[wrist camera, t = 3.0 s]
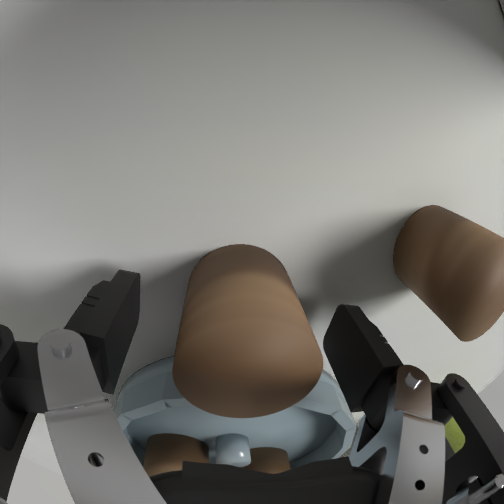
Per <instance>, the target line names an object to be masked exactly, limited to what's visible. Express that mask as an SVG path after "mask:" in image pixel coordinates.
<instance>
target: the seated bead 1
mask: <svg viewBox="0 0 504 504" xmlns="http://www.w3.org/2000/svg"><path fill="white" fill-rule="evenodd" d="M183 461H190V462H199V463H209V448H208V446H207V445H206V444H205V443H204V442H202V441H200V440H198V439H196V438H193V437H190V436H186V435H181V434H173V433H161V434H155V435H152V436H150V437H149V438H148V439H147V444H146V451H145V458H144V465H143V468H144V470H145V472H146V473H147V475H148V476H149V477H150V476H153V475H157V474H160V473H165V472H170V471H179V470H182V463H183Z"/></svg>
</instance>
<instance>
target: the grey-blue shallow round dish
mask: <svg viewBox="0 0 504 504" xmlns="http://www.w3.org/2000/svg"><path fill="white" fill-rule="evenodd" d="M173 362H174V356H173V357H170V358H166V359H162V360H160V361H157V362H155V363H152V364H150V365H148V366H146V367H144V368H142V369H141V370H139V371H137V372H136V373H135V374H133V375H132V376H131V377H130V378H129V379H128V380H127V381H126V382H125V384H124V385H123V386H122V388H121V390H120V393H119V395H118V399H117V402H116V406H115V409H114V413H115V415H116V417H117V420H118V422H119V424H120V426H121V428H122V430H123V432H124V434H125V436H126V438H127V440H128V442H129V444H130V445H131V447H132V449H133V451H134V453H135V455H136V456H137V458H138V460H139V462H140V463H141V465H142V467H143V465H144V458H145V451H146V444H147V439H148V438H149V437H150V436H152V435H155V434H161V433H173V434H181V435H186V436H190V437H193V438H196V439H198V440H200V441H202V442H204V443H205V444H206V445H207V446H208V448H209V463H211V464H228V465H232V466H236V467H244V466H247V465H249V464H250V463H251V456H250V449H251V448H258V447H275V448H280V449H283V450H285V451H286V452H287V454H288V458H289V463H290V468H291V469H294V468H297V467H300V466H303V465H305V464H308V463H311V462H314V461H322V460H329V459H336V458H340V457H341V456H342V455H343V454H344V453H345V452H346V451H347V450H348V449H349V448H350V447H351V446H352V442H353V439H354V435H355V431H356V428H357V426H356V423H355V421H354V418H353V416H352V414H351V412H350V409H349V407H348V405H347V403H346V400H345V398H344V395H343V393H342V391H341V388H340V387H339V385H338V383H337V381H336V380H335V379H334V378H333V377H332V376H331V375H330V374H329V373H327V372H326V371H324V370H322V373H321V377H320V379H319V381H318V383H317V384H316V386H315V387H314V388H313V389H312V391H311V392H310V393H309V394H308V395H307V396H306V397H304V398H303V399H302V400H300V401H299V402H298V403H296V404H294V405H293V406H291V407H289V408H287V409H285V410H282V411H280V412H277V413H274V414H270V415H266V416H262V417H255V418H230V417H223V416H218V415H215V414H211V413H208V412H206V411H203V410H201V409H199V408H197V407H196V406H194V405H192V404H191V403H190V402H188V401H187V400H186V399H185V398H184V397H183V396H182V395H181V394H180V392H179V391H178V389H177V388H176V386H175V383H174V380H173V376H172V368H173Z"/></svg>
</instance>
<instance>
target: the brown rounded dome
mask: <svg viewBox="0 0 504 504" xmlns="http://www.w3.org/2000/svg"><path fill="white" fill-rule="evenodd" d="M322 370H323V357H322V354H321V351H320V348H319V346H318V343H317V341H316V339H315V336H314V334H313V332H312V329H311V327H310V324H309V322H308V320H307V317H306V315H305V313H304V310H303V308H302V306H301V303H300V301H299V299H298V297H297V294H296V292H295V290H294V287H293V285H292V283H291V281H290V278H289V276H288V274H287V271H286V270H285V268H284V266H283V265H282V263H281V262H280V261H279V260H278V259H277V258H276V257H275V256H274V255H273V254H271V253H270V252H268V251H266V250H264V249H262V248H259V247H256V246H252V245H245V244H236V245H228V246H225V247H221V248H219V249H216V250H214V251H212V252H210V253H209V254H207V255H206V256H205V257H203V258H202V259H201V260H200V261H199V263H198V264H197V265H196V266H195V268H194V270H193V271H192V274H191V276H190V279H189V284H188V289H187V293H186V298H185V303H184V308H183V313H182V318H181V323H180V328H179V334H178V339H177V345H176V350H175V356H174V362H173V368H172V376H173V380H174V383H175V386H176V388H177V389H178V391H179V392H180V394H181V395H182V396H183V397H184V398H185V399H186V400H187V401H188V402H190V403H191V404H192V405H194V406H196V407H197V408H199V409H201V410H203V411H206V412H208V413H211V414H215V415H218V416H223V417H230V418H255V417H262V416H266V415H270V414H274V413H277V412H280V411H282V410H285V409H287V408H289V407H291V406H293V405H294V404H296V403H298V402H299V401H300V400H302V399H303V398H304V397H306V396H307V395H308V394H309V393H310V392H311V391H312V389H313V388H314V387H315V386H316V384H317V383H318V381H319V379H320V377H321V373H322Z"/></svg>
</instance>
